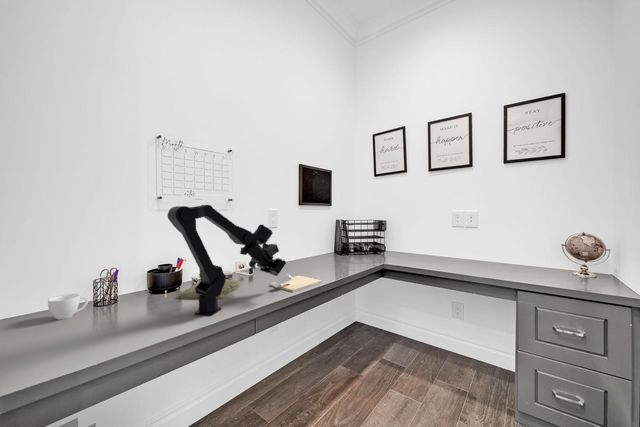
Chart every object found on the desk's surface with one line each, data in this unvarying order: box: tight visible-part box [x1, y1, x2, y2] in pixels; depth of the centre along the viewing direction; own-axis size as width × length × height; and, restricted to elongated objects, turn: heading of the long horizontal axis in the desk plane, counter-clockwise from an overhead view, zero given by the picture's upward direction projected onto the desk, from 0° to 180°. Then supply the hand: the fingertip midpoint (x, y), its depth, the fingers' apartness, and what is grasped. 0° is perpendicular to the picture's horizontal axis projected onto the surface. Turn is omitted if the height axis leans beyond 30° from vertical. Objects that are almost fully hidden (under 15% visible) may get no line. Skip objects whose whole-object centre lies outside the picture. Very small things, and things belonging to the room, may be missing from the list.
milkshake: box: [274, 273, 293, 289], centre depth 125 cm, size 4×5×10 cm
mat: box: [269, 275, 323, 293], centre depth 130 cm, size 20×16×1 cm
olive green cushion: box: [180, 279, 242, 300], centre depth 119 cm, size 19×20×4 cm
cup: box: [47, 293, 89, 321], centre depth 92 cm, size 8×10×7 cm
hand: (277, 275), depth 120 cm, fingers closed
